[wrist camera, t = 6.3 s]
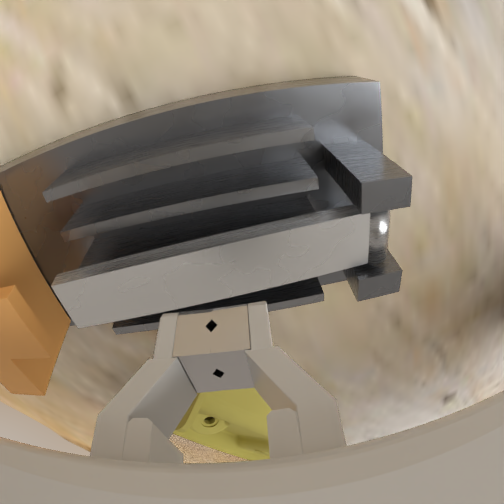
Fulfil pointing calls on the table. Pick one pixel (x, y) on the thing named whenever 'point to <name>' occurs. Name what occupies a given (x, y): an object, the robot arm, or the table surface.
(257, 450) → the plastic component
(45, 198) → the heatsink
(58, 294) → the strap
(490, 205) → the table surface
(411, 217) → the table surface
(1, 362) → the clip
